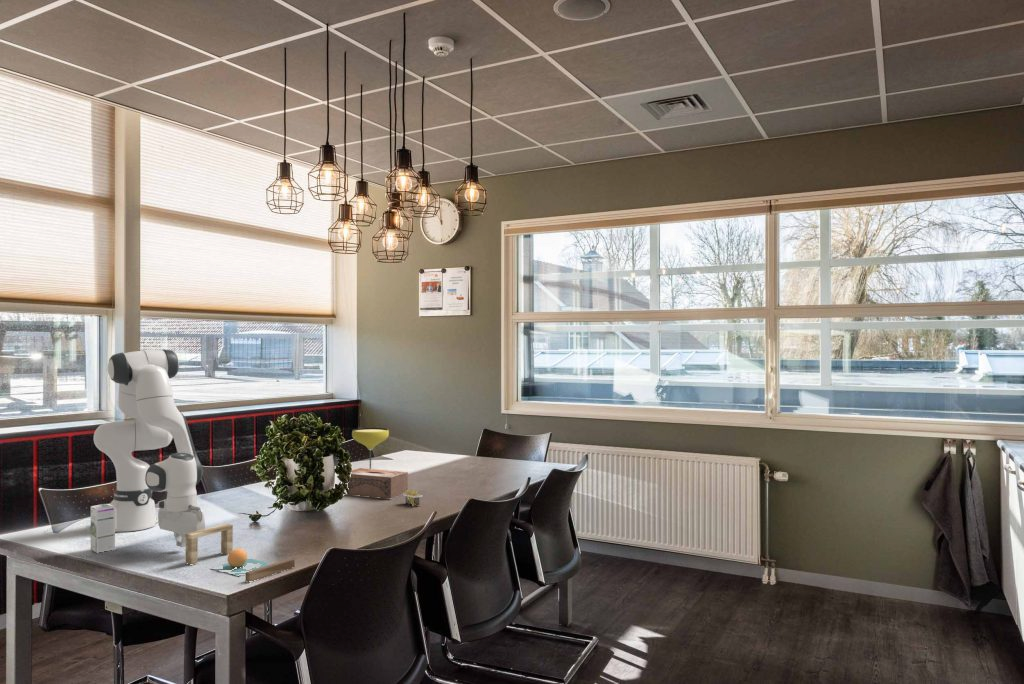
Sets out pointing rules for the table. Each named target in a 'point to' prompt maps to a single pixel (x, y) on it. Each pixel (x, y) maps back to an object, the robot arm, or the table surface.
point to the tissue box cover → (378, 483)
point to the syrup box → (102, 528)
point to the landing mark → (229, 567)
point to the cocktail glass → (370, 437)
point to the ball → (237, 557)
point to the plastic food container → (412, 497)
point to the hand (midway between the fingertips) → (181, 546)
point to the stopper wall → (270, 569)
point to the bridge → (193, 536)
